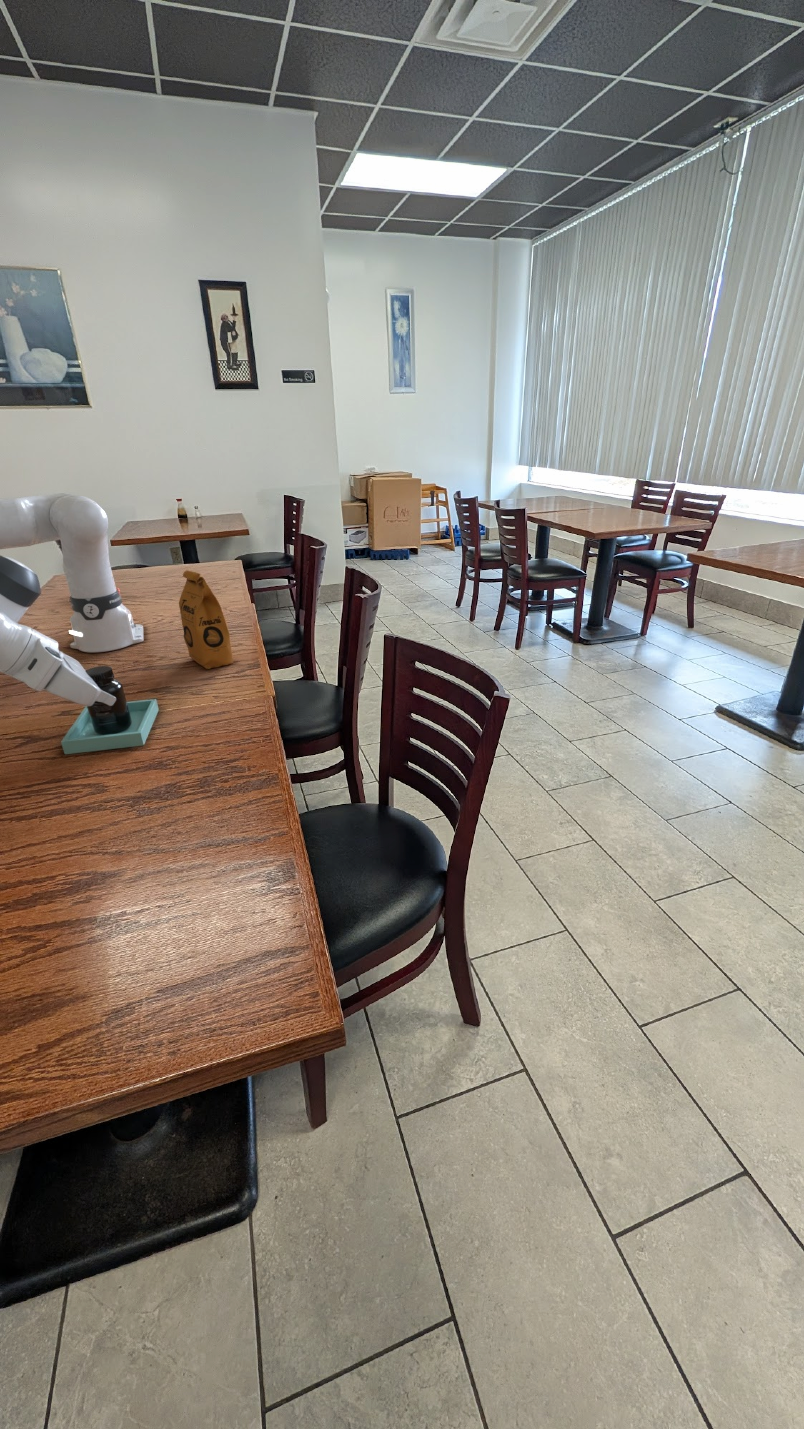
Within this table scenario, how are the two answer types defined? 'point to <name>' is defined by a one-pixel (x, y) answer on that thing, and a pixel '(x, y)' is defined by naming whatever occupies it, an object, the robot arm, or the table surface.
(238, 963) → the table surface
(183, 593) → the coffee package
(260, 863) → the table surface
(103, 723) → the supplement bottle
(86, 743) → the serving tray
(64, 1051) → the table surface
